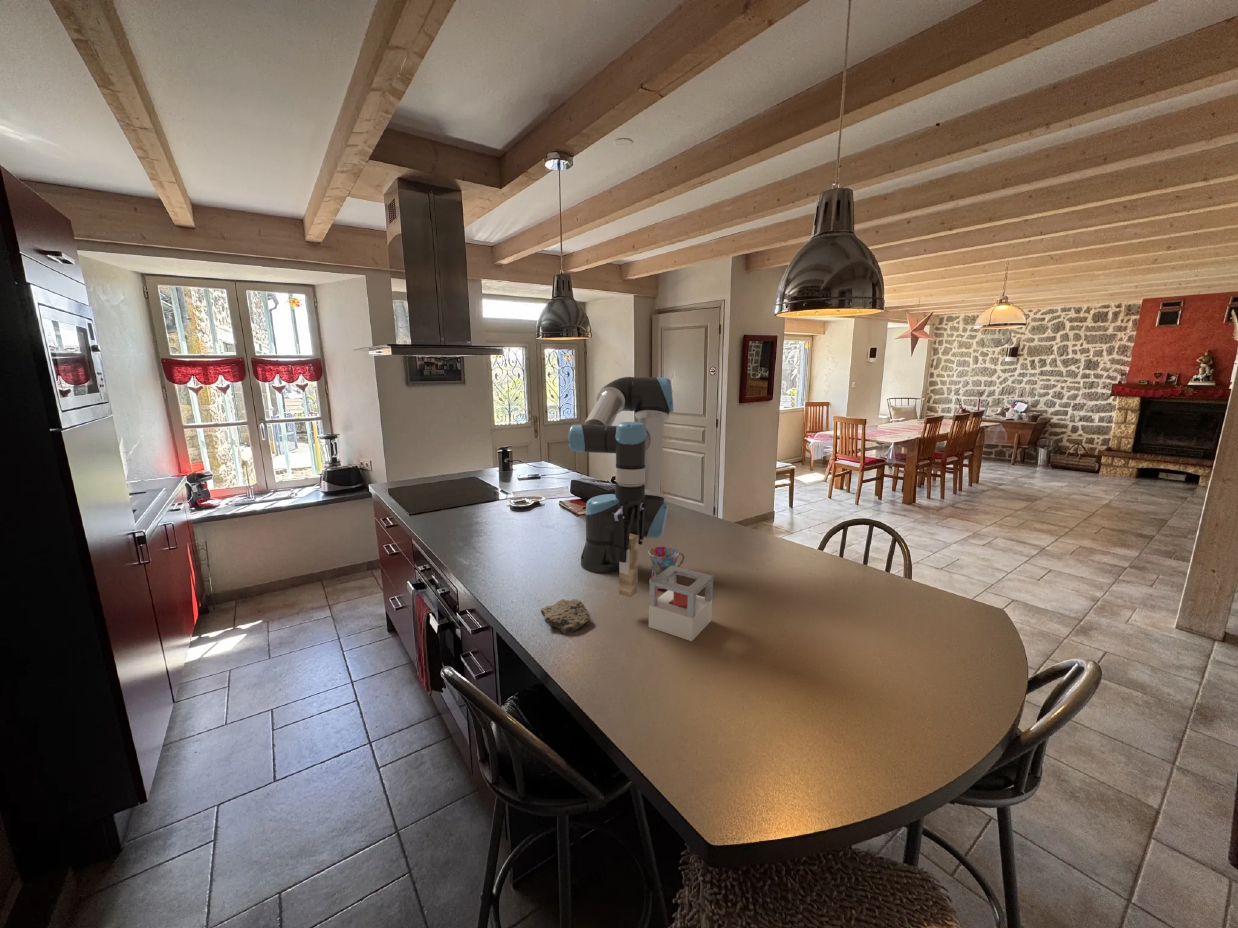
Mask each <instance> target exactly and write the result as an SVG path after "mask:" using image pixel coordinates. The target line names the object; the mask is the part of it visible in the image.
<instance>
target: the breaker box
mask: <svg viewBox="0 0 1238 928" xmlns="http://www.w3.org/2000/svg"><path fill="white" fill-rule="evenodd" d="M673 596H674V591H670V590H666V591H665V592H664V593H663V594H661V595H660V596H659V597H657V605H656V606H650V605H649V604H648V628H650V629H653V630H656V631H660V632H662V633H666V634H668V635H672V636H675V637H678V638H681V639H682V640H687V641H690V642H693V641H694V640H695V638H697V636H699V634H701V632H702V631H703V630H704V629H705V628H706V627H707V626H708V625H709V624H710V623H711V621H712V615H713V614H712V612H713V599H712V600H711V601H706V600H705V596H702V595H698V594H697V595H696V612H695V617H694V618H689V617H687V608H686V609H685V608H682V607H678V606H675V605H673Z"/></svg>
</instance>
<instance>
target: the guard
mask: <svg viewBox="0 0 1238 928" xmlns="http://www.w3.org/2000/svg"><path fill="white" fill-rule="evenodd" d="M677 575H678V576H682V577H684V578H685V577H686V578H690V579H693V580H695V581H694V582H692V584H690V585H689V586H688V585H683V584H679V583H678V582H677V583H676V581H677ZM649 580H650V579H649ZM667 580H669V581H667ZM658 587H660V588H663V589H662V590H666V591H668V590H670V591H674V592H677V593H681V594H684V595H688V604H687V617H689V618H694V617H695V612H696V595H698V594H699V593H700V592H702V590H704V597H705V600H706V601H711V600H712V601H713V597H714V596H713V594H714V593H713V592H714V575H712V574H708V573H705V572H704V573H703V572H700V571H696V570H693V569H688V568H684V567H681V566H680V567H677V566H676V565H675V566H670V567H669V568H667V569H666V570H664V571H663V572H662V573H660V574H659V575H657V576H656V577H655V578H653V579H652V580H650V584H649V587H648V588H649V595H648V600H649V601H648V606H649V605H650V606H656V605H657V598H658V591H659V589H658ZM704 588H705V589H704Z"/></svg>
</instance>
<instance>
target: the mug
mask: <svg viewBox="0 0 1238 928" xmlns="http://www.w3.org/2000/svg"><path fill="white" fill-rule="evenodd" d="M647 552H648V555H649V558H650V562H651V568H652V569H651V570H652V571H651V575H650V578H649V580H648V584H649V585H650V580H652V579H653V578H655V577H656V576H657V575H659V574H660V573H662V572H663V571H664V570H666V569H667V568H669V567H670V566H676V563H677V560H678V558H679V556H680V555H681V556H682V558H681V560H680V562H679V564H678V565H677V566H676V567H680V568H681V566H682V565H683V562H684V560H685V555H684V553H682V552H680V551H679V550H678V549H677V548H676V549H675V548H673V547H670V546H654V547H651V548H650V549H649V550H648V551H647ZM667 581H669V580H667ZM676 583H677V584H678V582H677V580H676ZM658 590H664V589H663V588H660V587H658Z"/></svg>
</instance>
